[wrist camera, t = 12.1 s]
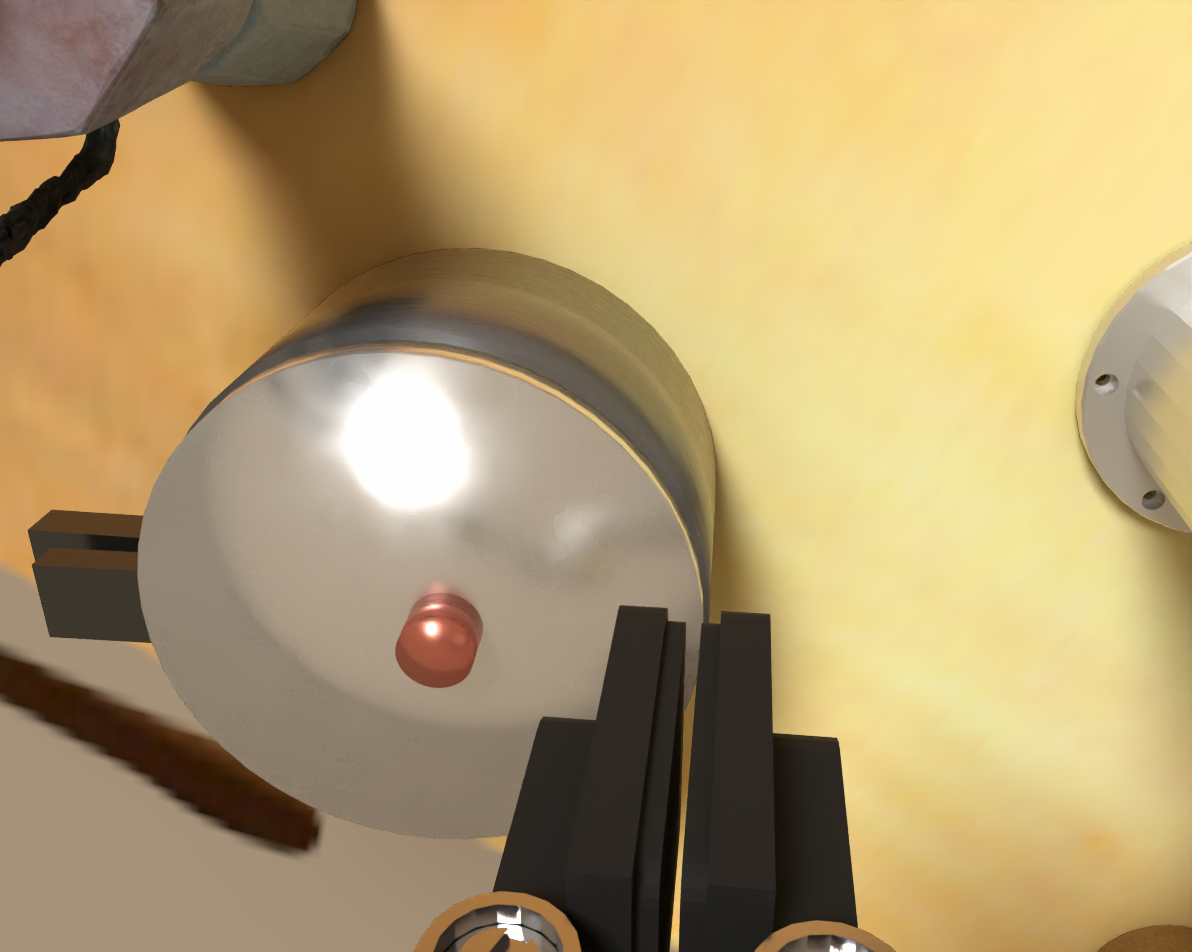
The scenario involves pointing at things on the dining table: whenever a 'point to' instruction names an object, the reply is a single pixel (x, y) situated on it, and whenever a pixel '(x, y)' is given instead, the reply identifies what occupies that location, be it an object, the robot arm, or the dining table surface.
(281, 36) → the moka pot
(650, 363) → the cooker pot
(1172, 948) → the plant pot
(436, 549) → the cooker lid
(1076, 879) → the dining table surface
